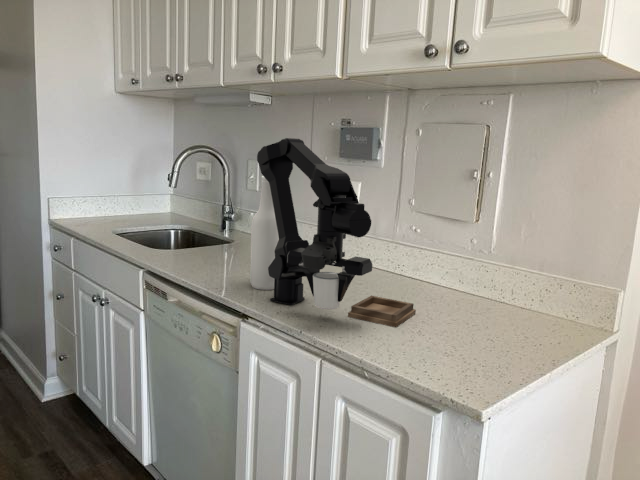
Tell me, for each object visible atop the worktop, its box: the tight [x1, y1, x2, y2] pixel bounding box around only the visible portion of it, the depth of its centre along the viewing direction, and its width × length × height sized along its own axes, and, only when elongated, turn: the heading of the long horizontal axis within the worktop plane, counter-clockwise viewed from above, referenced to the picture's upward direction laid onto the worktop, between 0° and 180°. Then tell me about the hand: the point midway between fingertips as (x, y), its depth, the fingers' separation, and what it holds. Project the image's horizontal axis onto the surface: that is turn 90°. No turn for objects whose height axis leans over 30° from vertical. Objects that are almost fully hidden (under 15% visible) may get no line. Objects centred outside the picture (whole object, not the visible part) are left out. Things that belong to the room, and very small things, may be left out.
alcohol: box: [249, 175, 279, 291], centre depth 142 cm, size 9×9×30 cm
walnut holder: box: [347, 295, 417, 328], centre depth 124 cm, size 12×12×2 cm
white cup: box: [313, 271, 341, 310], centre depth 118 cm, size 7×7×7 cm
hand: (327, 298), depth 118 cm, fingers closed on white cup, 6 cm apart
